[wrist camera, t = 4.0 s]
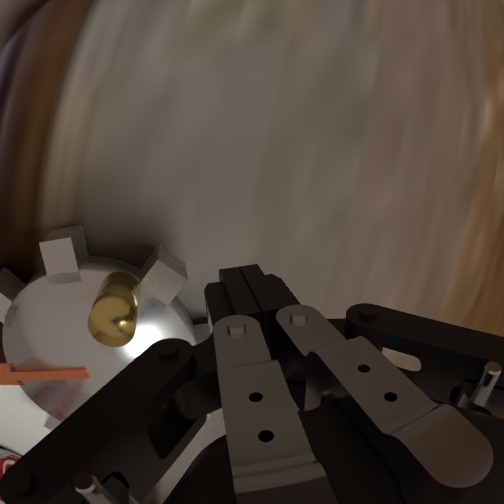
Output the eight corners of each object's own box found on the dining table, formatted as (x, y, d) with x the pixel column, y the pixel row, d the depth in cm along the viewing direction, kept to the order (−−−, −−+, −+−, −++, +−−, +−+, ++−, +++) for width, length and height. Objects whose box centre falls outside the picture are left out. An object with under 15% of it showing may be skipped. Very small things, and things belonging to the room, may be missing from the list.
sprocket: (266, 284, 17) (300, 336, 13) (177, 444, 20) (185, 499, 15) (15, 185, 12) (-40, 208, 8) (-6, 384, 15) (-29, 435, 10)
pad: (80, 399, 18) (80, 400, 17) (69, 471, 20) (68, 472, 20) (-53, 338, 14) (-53, 338, 14) (-37, 426, 16) (-37, 426, 16)
